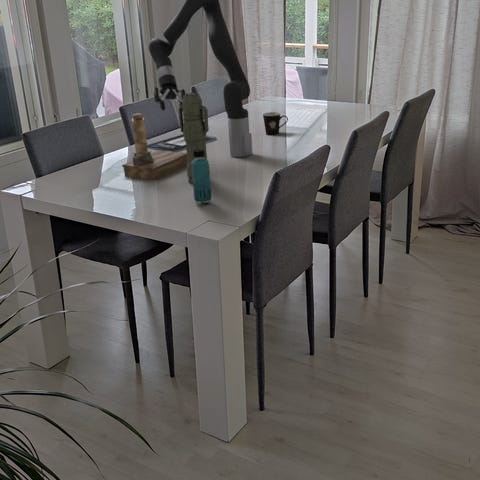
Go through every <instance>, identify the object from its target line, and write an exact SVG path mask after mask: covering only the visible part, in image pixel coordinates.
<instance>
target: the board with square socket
mask: <svg viewBox="0 0 480 480" xmlns="http://www.w3.org/2000/svg"><path fill="white" fill-rule="evenodd" d="M187 164H188V161H187V152H182V151H179V152H171V151H161V150H154V151H151V150H149V151H148V156H142V157H136V152H132V160H131V161H129V162H126V163H123V164H122V165H121V166H122V168H123V174H124V177H128V178H136V179H145V180H150V181H155V180H157V179H160V178H162V177H164V176H167V175H170V173H172V172H175V171H177V170H179V169H181V168H184V167H187Z"/></svg>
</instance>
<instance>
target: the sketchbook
mask: <svg viewBox="0 0 480 480" xmlns="http://www.w3.org/2000/svg"><path fill="white" fill-rule="evenodd" d="M214 141H217V137H216V136H211V135H207V134H206V144H207V143H211V142H214ZM147 148H148V150H153V151H157V150H161V151H171V152H182V151H185V150H186V142H185V140H184V134H183V133H182V134H179V135H176V136H172V137H169V138H166V139H164V140H163V139H162V140H159V141H156V142H153V143H150V144H147Z"/></svg>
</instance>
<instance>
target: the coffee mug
mask: <svg viewBox="0 0 480 480" xmlns="http://www.w3.org/2000/svg"><path fill="white" fill-rule="evenodd" d="M284 117H285V118H286V121H285V122H284V123H282V124H281V125H280V123H281V120H282V118H284ZM262 119H263V124H264V130H265V134H266V136H276V135H279V134H280V128H282V127H283V126H284V125H286V124H287V122H288V121H289V119H288V116H287V115H281V113H280V112H277V111H274V112H273V111H271V112H264V113H263V114H262Z"/></svg>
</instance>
